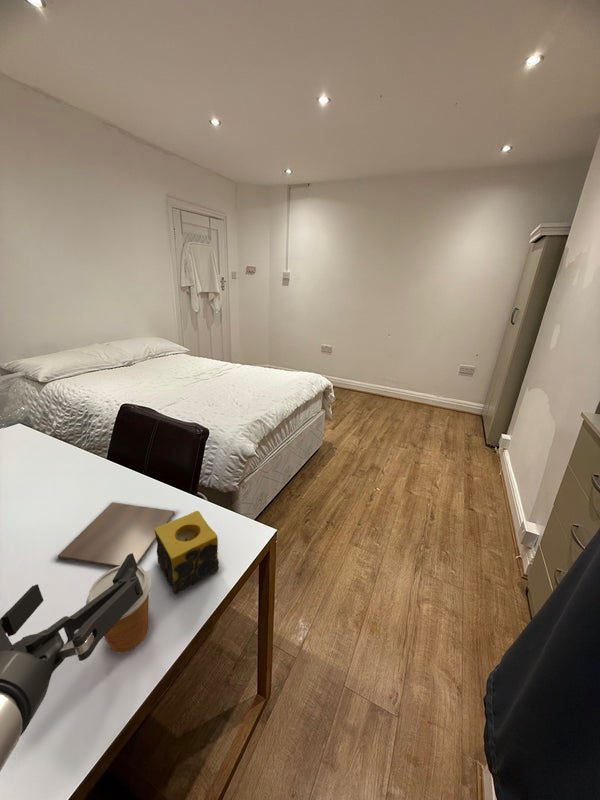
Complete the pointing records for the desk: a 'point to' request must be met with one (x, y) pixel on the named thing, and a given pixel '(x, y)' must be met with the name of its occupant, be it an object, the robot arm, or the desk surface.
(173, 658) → the desk surface
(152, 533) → the placemat
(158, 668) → the desk surface
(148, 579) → the disposable coffee cup
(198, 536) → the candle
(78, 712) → the desk surface
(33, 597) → the robot arm
